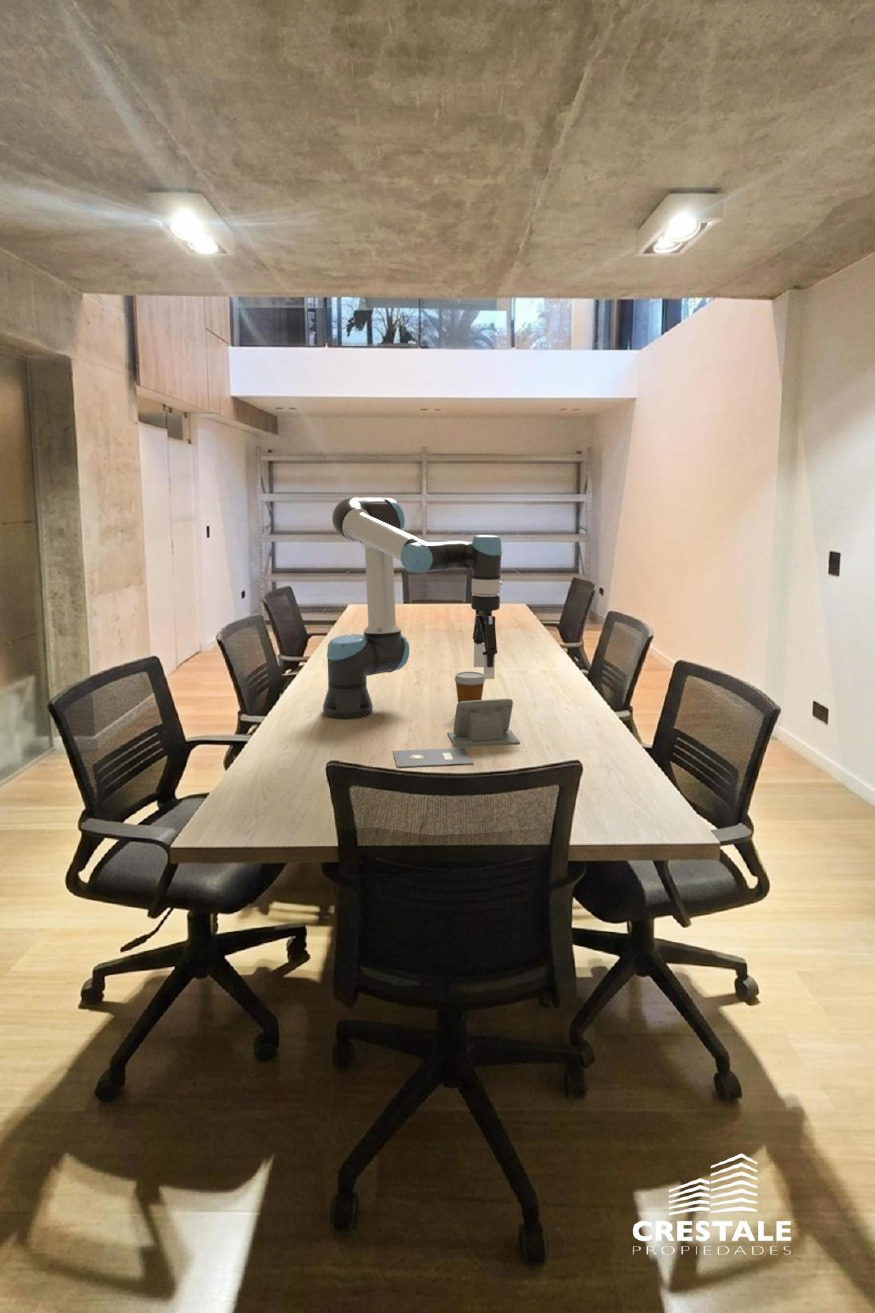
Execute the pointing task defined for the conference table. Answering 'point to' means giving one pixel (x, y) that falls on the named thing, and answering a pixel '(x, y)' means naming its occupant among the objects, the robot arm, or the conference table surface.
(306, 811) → the conference table surface
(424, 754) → the gray plate
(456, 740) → the side mat
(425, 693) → the conference table surface
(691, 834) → the conference table surface
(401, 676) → the conference table surface
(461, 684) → the disposable coffee cup
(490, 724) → the digital clock
